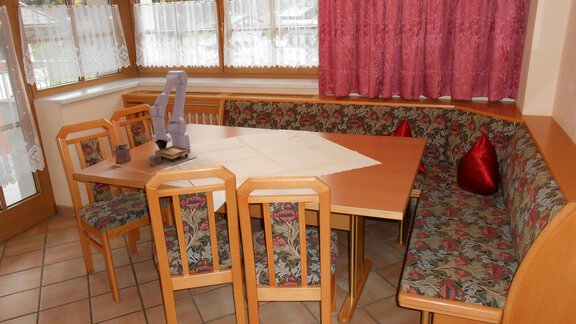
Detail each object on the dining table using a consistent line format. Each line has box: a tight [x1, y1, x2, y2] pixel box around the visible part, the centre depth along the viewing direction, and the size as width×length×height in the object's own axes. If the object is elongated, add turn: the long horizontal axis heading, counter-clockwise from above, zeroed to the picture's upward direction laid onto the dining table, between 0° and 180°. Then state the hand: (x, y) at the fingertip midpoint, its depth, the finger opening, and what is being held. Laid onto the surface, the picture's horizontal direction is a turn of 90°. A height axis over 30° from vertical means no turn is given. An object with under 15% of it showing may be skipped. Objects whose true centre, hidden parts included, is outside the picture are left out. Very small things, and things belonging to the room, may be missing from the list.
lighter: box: [113, 143, 132, 165], centre depth 230 cm, size 8×3×10 cm, turn 105°
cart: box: [154, 145, 191, 162], centre depth 230 cm, size 12×14×4 cm
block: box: [148, 154, 162, 166], centre depth 223 cm, size 4×4×5 cm
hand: (163, 153), depth 236 cm, fingers closed
